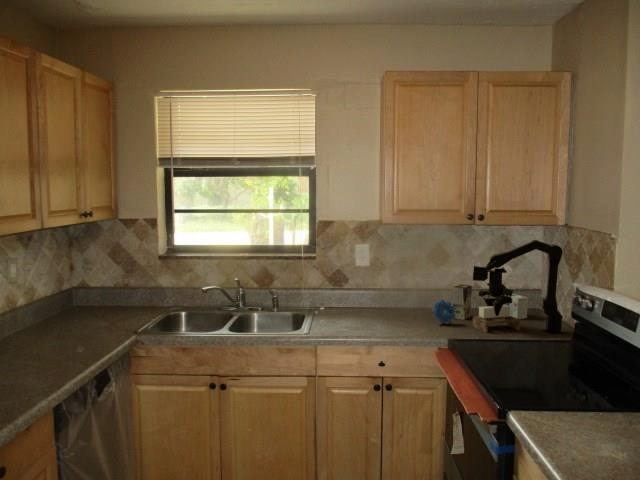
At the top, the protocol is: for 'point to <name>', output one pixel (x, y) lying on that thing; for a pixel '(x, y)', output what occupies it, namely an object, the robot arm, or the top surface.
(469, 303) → the coffee box
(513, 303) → the light bulb box
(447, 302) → the grapes
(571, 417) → the top surface
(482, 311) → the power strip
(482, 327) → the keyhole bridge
